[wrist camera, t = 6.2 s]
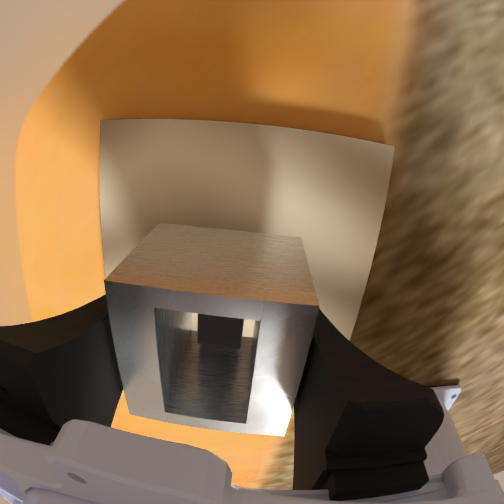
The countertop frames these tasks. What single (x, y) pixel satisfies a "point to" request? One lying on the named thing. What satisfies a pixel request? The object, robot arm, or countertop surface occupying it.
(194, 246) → the hollow square tube
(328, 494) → the robot arm
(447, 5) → the countertop surface
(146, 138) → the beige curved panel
